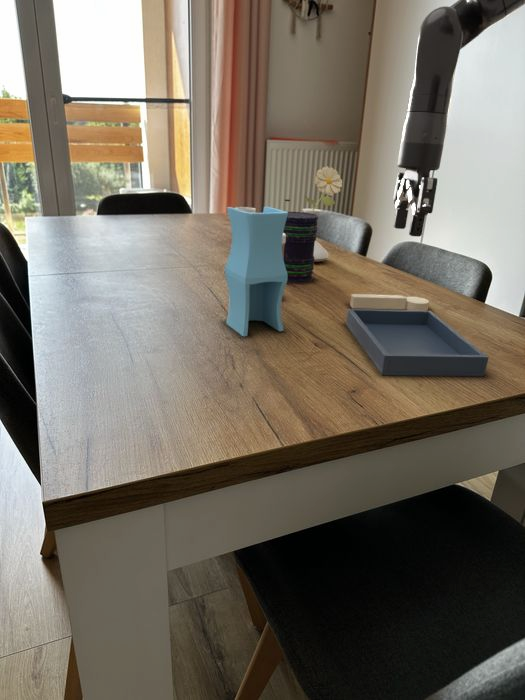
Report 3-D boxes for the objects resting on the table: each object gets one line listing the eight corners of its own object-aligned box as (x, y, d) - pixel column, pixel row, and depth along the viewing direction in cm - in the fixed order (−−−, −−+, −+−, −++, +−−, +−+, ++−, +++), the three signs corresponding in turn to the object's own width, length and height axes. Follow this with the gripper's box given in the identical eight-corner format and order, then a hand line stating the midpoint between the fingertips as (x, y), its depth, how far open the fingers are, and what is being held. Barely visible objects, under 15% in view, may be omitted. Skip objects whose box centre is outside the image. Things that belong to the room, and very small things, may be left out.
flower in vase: (288, 264, 138) (296, 165, 128) (285, 255, 148) (292, 163, 139) (337, 266, 138) (347, 168, 129) (330, 257, 149) (339, 166, 139)
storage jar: (319, 278, 125) (327, 201, 119) (300, 285, 118) (306, 204, 111) (285, 270, 130) (290, 197, 123) (263, 278, 123) (268, 200, 116)
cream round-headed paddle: (422, 304, 109) (424, 293, 108) (431, 312, 104) (433, 300, 103) (348, 303, 107) (349, 291, 106) (354, 310, 102) (355, 299, 101)
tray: (427, 326, 96) (430, 310, 94) (484, 376, 76) (488, 357, 75) (346, 324, 94) (347, 308, 93) (381, 375, 74) (384, 355, 73)
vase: (262, 317, 96) (268, 206, 88) (283, 330, 89) (292, 212, 82) (223, 321, 92) (226, 206, 84) (243, 336, 86) (248, 213, 78)
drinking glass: (229, 238, 167) (230, 207, 164) (245, 237, 172) (246, 206, 168) (242, 242, 163) (244, 210, 159) (258, 240, 167) (260, 209, 163)
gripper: (459, 143, 86) (440, 240, 92) (427, 142, 99) (412, 227, 105) (417, 140, 85) (400, 238, 92) (389, 139, 98) (376, 225, 105)
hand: (406, 232), depth 99 cm, fingers open, 8 cm apart
